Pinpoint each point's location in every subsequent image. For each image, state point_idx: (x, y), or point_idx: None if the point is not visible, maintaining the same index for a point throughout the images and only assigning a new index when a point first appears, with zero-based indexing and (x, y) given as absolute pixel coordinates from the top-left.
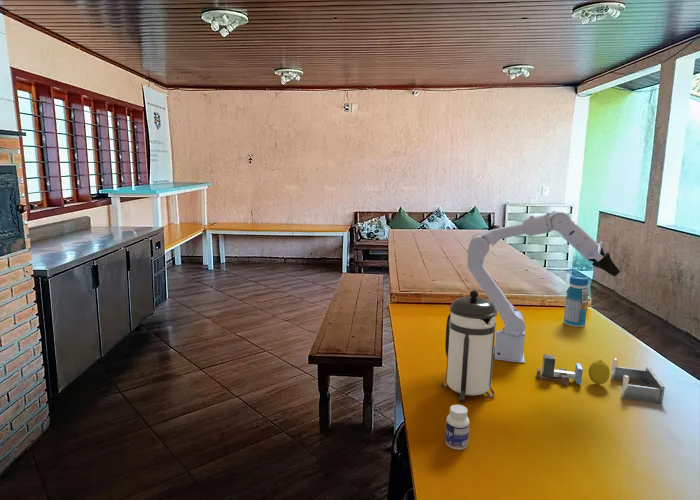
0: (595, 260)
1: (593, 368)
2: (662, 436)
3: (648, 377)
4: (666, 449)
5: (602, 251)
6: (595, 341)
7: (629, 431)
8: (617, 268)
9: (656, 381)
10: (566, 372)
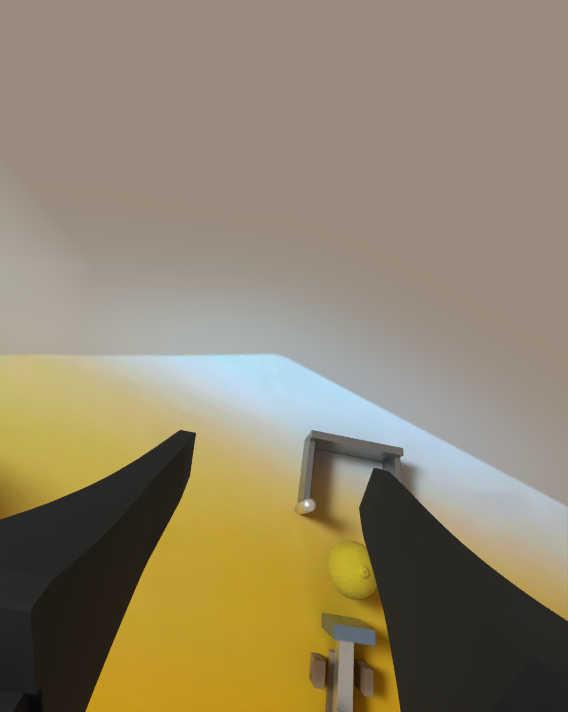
0: (107, 635)
1: (370, 594)
2: (507, 516)
3: (328, 445)
4: (546, 530)
5: (92, 559)
6: (59, 454)
7: (521, 575)
8: (406, 490)
9: (378, 451)
10: (348, 671)
